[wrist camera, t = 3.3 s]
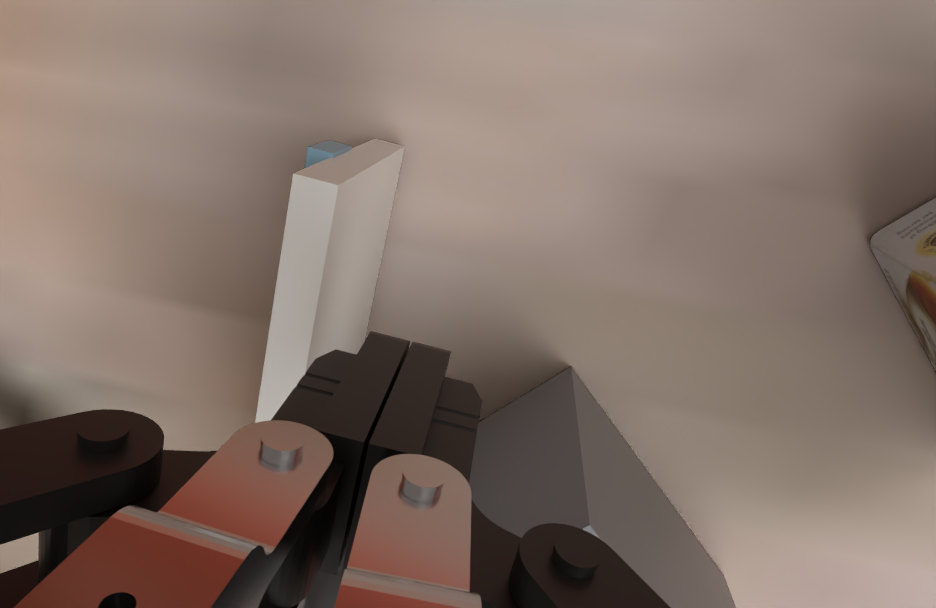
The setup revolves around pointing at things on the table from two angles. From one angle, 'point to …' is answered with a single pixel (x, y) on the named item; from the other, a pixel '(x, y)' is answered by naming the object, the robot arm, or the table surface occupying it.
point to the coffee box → (912, 269)
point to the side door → (328, 260)
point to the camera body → (579, 492)
